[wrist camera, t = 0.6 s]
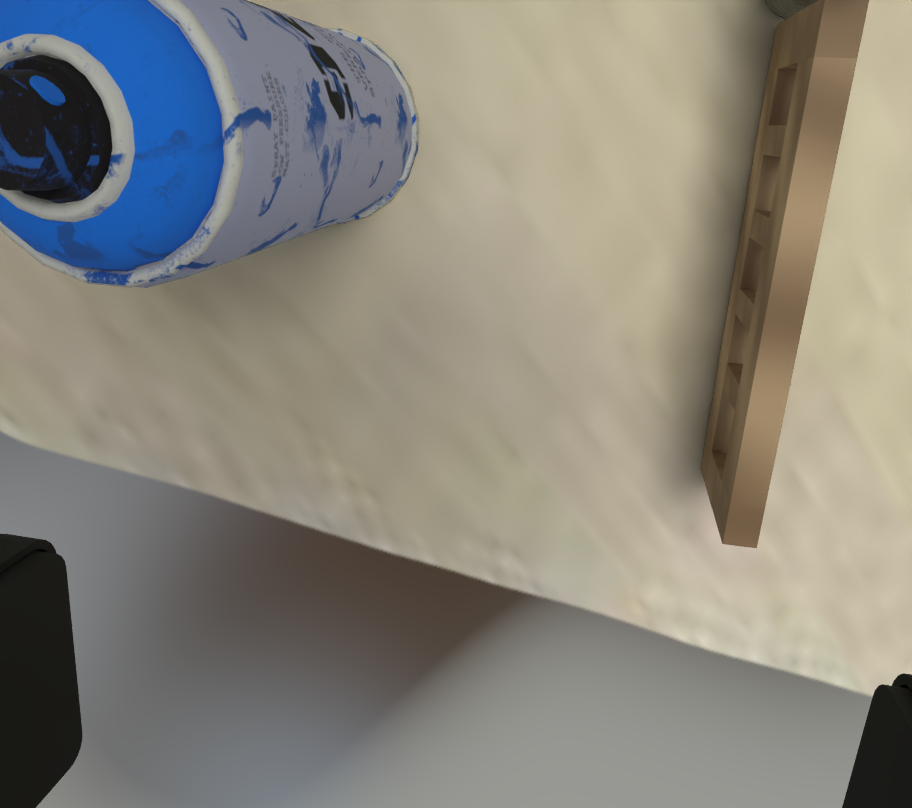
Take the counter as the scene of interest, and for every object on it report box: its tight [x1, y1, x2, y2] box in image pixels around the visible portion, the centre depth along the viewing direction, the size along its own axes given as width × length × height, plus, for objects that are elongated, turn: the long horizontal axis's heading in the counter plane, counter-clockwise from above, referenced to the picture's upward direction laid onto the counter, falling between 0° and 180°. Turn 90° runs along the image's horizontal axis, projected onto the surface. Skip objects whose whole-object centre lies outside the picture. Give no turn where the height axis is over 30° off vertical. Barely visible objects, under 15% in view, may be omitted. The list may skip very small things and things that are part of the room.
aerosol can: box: [0, 0, 419, 288], centre depth 24 cm, size 8×8×20 cm
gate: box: [701, 0, 869, 548], centre depth 29 cm, size 18×1×7 cm, turn 177°
